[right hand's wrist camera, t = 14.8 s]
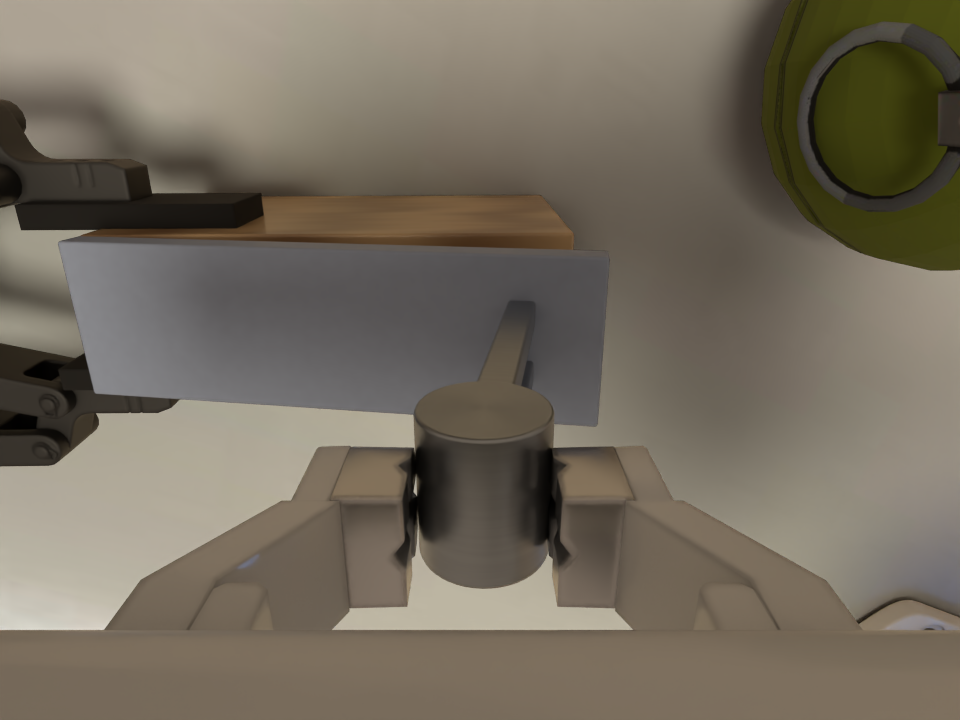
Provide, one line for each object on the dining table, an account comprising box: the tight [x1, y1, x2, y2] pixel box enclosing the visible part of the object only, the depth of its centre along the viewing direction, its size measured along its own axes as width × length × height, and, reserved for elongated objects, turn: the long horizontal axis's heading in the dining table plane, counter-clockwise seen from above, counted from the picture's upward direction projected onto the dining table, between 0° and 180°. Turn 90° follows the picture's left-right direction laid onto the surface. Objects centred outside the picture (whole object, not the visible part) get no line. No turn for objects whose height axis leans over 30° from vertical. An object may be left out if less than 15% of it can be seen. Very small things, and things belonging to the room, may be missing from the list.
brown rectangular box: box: [81, 195, 574, 250], centre depth 23 cm, size 14×5×9 cm, turn 90°
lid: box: [58, 236, 610, 589], centre depth 14 cm, size 15×5×9 cm, turn 90°
